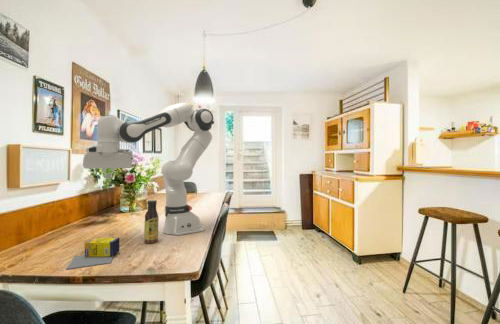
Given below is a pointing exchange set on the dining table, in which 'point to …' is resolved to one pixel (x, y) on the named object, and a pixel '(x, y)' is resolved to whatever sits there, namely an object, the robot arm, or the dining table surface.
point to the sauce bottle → (151, 223)
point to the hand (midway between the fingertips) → (108, 177)
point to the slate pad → (88, 261)
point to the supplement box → (101, 247)
